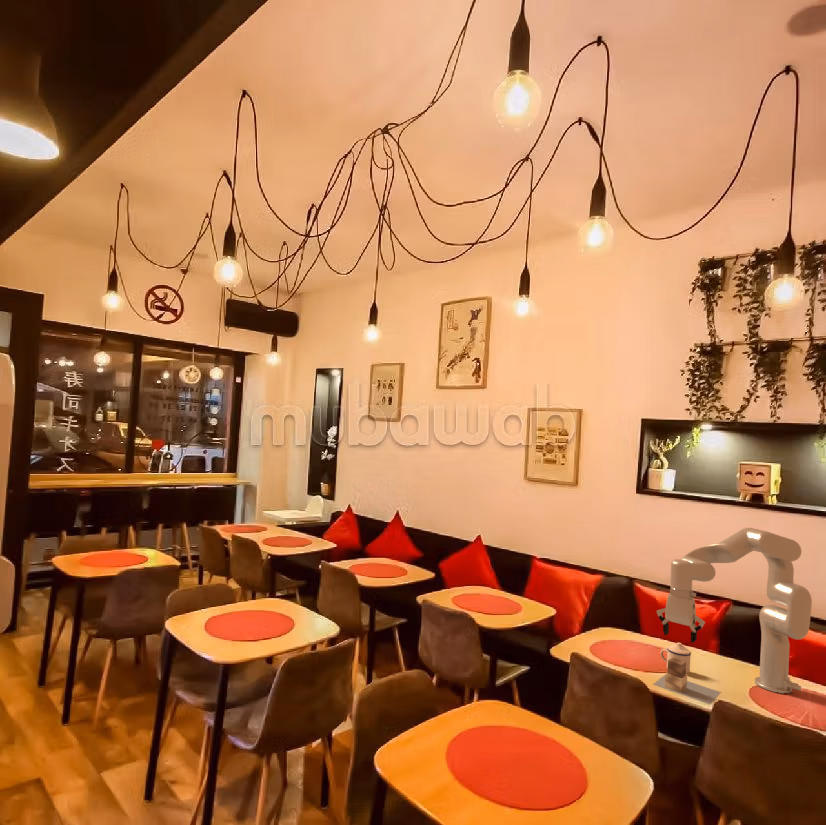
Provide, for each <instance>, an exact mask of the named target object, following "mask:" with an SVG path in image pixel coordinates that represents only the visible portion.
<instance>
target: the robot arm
mask: <svg viewBox="0 0 826 825" xmlns="http://www.w3.org/2000/svg"><path fill="white" fill-rule="evenodd" d="M752 552H758V553H761V554H762V555H763V556H764V558H765V559H766V561H767V564H768V568H767V569H768V570H767V571H768V572H767V583H766V596H767V598H768V600H770V601H771V602H773V603H776V604H779V605H781V606H784V607H787V609H786V608H784V607H781V606H779V605H773V604H767V605H764V606H763V607H761V609H760V611H759V614H758V615H759V624H760V631H761V634H760V635H761V636H760V637H761V638H760V639H761V641H760V658H759V659H760V661H759V676H757V677H755V678H754V684H755V685H757V686H759V688H762V689H764V690H766V691H770V692H773V693H777V692H778V694H784V693H787V694H791V693H792V692H793V690H796V691H798V692H801V690H802V686H801V685H799V683H796V682H792V680H791V677H790V676H789V667H790V665H789V662H790V647H791V646H790V641H789V638H791V639H793V640H802V639H804V638H806V637H807V635H808V633H809V631H810V630H809V629H810V623H811V613H812V606H813V605H812V603H813V599H812V596H811V593H810V592H809V590H808V589H807V588H806V587H804V586H803V585H800V584H798V583H794V576H795V574H794V570H795V569H794V565H793V564H794V563H793V562H797V560H799V558H800V557H801V556H802V547H801V545H800V544H799V543H798V542H797V541H796V540H794V539H791V538H788V537H784V536H782V535H779V534H775V533H773V532H770V531H768V530H767V531H766V530H763V529H758V528H754V527H744V528H742V529H740V530H739V531H737V532H736V533H733V534H732V535H730V536H729V537H727V538H725V539H723V540H722V541H720V542H718V543H713V544H710V545H708V544H707V545H706V546H700V547H698V548H695V549H693V550H692V551H690V552H688V553H686V554H685V555H683V557H680V558H681V559H678V558H677V559H673V560H672V561H671V563H670V584H669V585H670V588H669V589H670V590H669V592H670V593H669V594H668V595H667V597H666V598H667V599H666V603H665V604H666V605H665V607H664V608H661V609H658V610H656V612H655V613H656V614H657V616H658V619H659V620H660V622H661V624H662V632H663V635H664V636H667V635H669V633H670V624H669V622H672V623H676V624H679V625H683V626H687V627H689V628H690V630H691V632H690V643H692V644H693V643H695V642H696V641H697V637H698V631H699V630H702V629H703V627H704V625H705V623H706V621H705V620H703V619H702V618H700V617H699V616H698V615H697V612H696V611H697V608H696V601H695V597H696V596H697V593H696V592H694V591H693V581H697V582H703V583H705V582H710V581H712V580H714V578H715V577H716V574H717V572H716V569H715V567H714V566H713V565H712V564H730V563H731V564H732V563H736V562H737V561H739V560H741V559H742V558H744V557H745V556H746V555H748V554H750V553H752ZM663 613H665V614H664V615H663ZM664 616H665V617H664ZM697 622H698V623H699V624H698V625H696V623H697Z"/></svg>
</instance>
